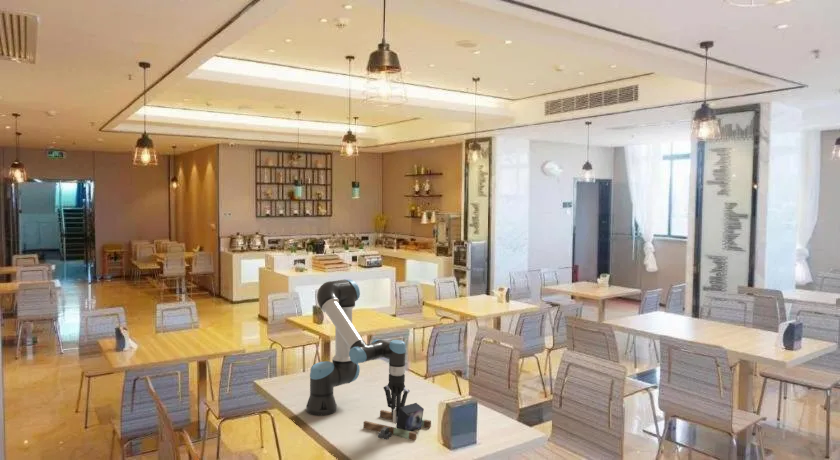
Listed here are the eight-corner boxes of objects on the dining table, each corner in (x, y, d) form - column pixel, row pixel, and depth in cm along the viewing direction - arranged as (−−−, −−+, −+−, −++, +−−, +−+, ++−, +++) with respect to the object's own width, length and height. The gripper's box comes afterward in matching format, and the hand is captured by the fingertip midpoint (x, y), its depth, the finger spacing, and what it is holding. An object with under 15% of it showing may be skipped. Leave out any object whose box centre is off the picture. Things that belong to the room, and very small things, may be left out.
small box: (403, 434, 266) (406, 413, 264) (395, 427, 271) (398, 406, 269) (421, 428, 273) (424, 408, 270) (413, 422, 277) (416, 402, 275)
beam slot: (363, 428, 271) (363, 421, 271) (381, 415, 287) (381, 409, 286) (414, 440, 260) (415, 433, 259) (430, 426, 275) (431, 420, 275)
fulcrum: (377, 437, 262) (377, 428, 261) (382, 434, 265) (382, 425, 265) (387, 439, 260) (387, 431, 259) (391, 436, 263) (391, 427, 263)
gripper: (380, 373, 271) (379, 422, 273) (405, 378, 266) (404, 428, 267) (388, 369, 278) (387, 417, 280) (412, 373, 272) (411, 422, 274)
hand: (395, 422), depth 274 cm, fingers closed
